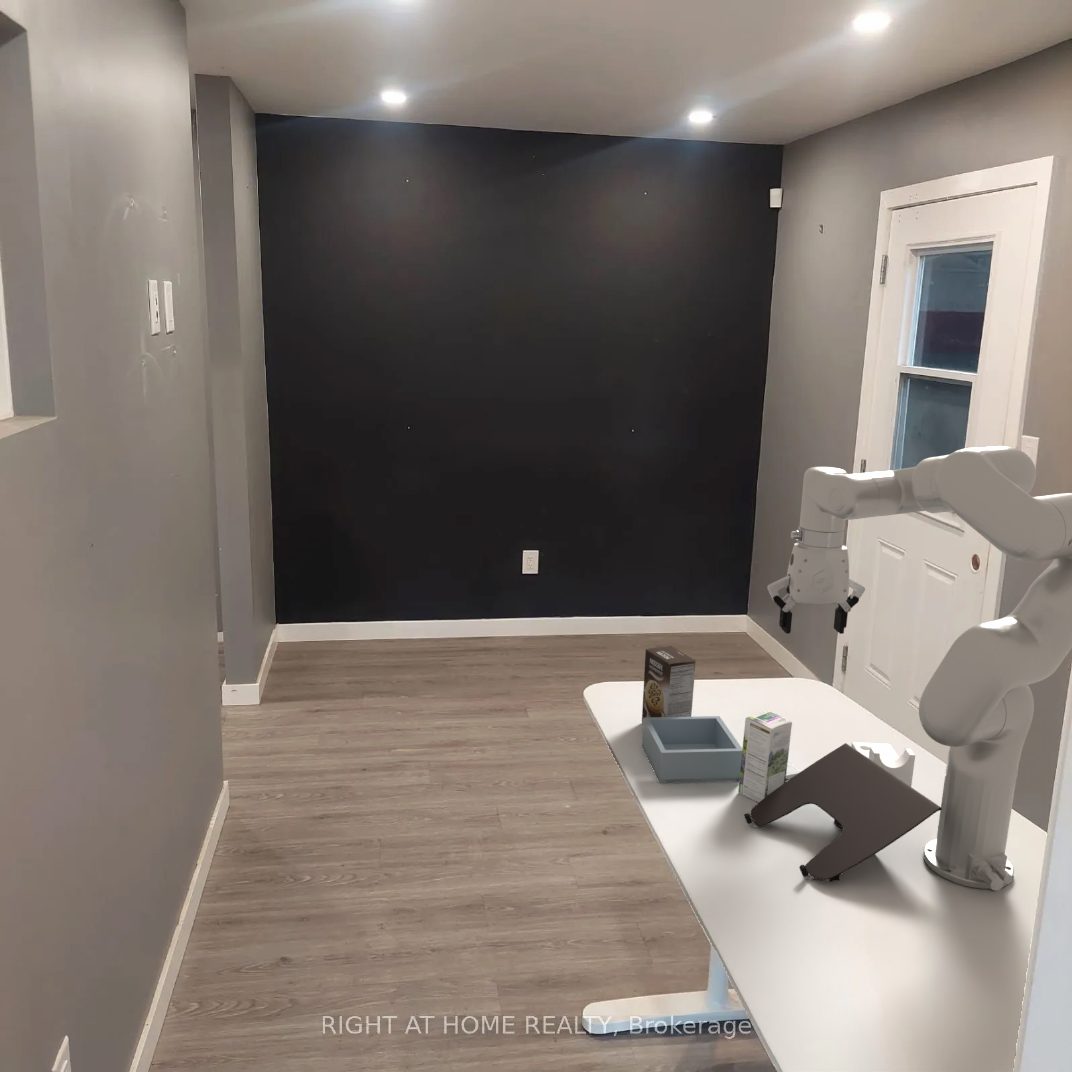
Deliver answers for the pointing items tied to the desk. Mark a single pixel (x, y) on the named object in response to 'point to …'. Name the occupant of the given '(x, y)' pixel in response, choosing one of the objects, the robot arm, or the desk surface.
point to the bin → (691, 749)
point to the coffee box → (668, 683)
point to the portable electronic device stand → (848, 808)
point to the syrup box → (764, 754)
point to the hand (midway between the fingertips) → (812, 631)
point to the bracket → (889, 759)
